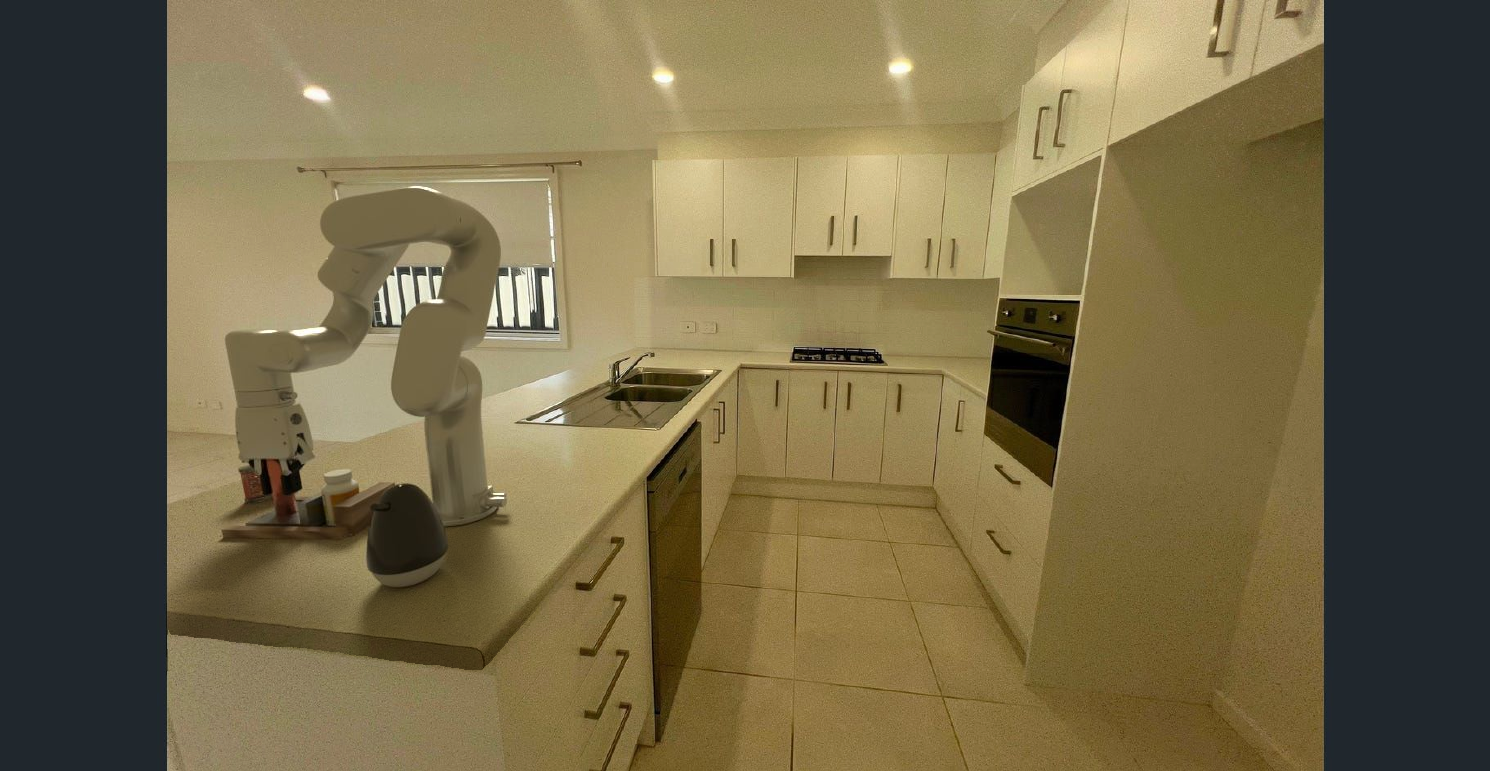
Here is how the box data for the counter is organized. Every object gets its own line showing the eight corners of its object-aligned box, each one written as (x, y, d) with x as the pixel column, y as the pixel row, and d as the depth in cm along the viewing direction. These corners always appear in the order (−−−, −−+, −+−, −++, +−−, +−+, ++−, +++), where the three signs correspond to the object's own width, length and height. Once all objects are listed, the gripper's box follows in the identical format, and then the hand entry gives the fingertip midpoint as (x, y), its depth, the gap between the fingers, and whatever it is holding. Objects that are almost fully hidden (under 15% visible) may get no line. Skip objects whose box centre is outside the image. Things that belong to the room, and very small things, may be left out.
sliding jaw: (350, 508, 95) (340, 445, 93) (309, 530, 86) (297, 461, 84) (293, 507, 95) (281, 444, 93) (246, 529, 86) (232, 460, 84)
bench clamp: (403, 504, 98) (400, 479, 97) (347, 539, 84) (342, 510, 83) (296, 503, 98) (292, 478, 97) (223, 537, 84) (217, 508, 83)
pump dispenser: (350, 596, 68) (335, 498, 65) (405, 557, 78) (393, 470, 76) (419, 600, 68) (406, 500, 65) (464, 560, 78) (455, 472, 75)
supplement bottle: (370, 514, 93) (363, 468, 91) (345, 527, 88) (337, 478, 86) (345, 513, 94) (338, 466, 92) (318, 526, 88) (310, 477, 87)
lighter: (295, 488, 105) (287, 445, 103) (299, 492, 103) (291, 448, 101) (243, 501, 98) (234, 455, 96) (246, 505, 96) (237, 458, 94)
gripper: (329, 394, 90) (343, 485, 93) (242, 392, 90) (259, 483, 93) (291, 403, 83) (308, 501, 86) (197, 401, 82) (218, 500, 86)
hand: (283, 491), depth 90 cm, fingers closed on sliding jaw, 3 cm apart
